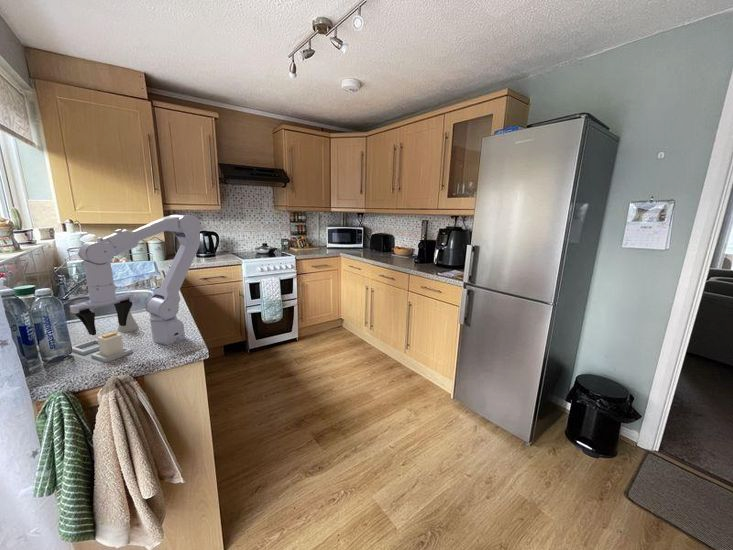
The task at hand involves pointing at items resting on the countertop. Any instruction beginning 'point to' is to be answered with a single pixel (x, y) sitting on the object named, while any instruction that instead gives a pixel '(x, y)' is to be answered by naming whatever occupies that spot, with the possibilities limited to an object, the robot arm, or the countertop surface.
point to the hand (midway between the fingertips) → (108, 329)
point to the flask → (128, 324)
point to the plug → (110, 344)
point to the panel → (96, 352)
